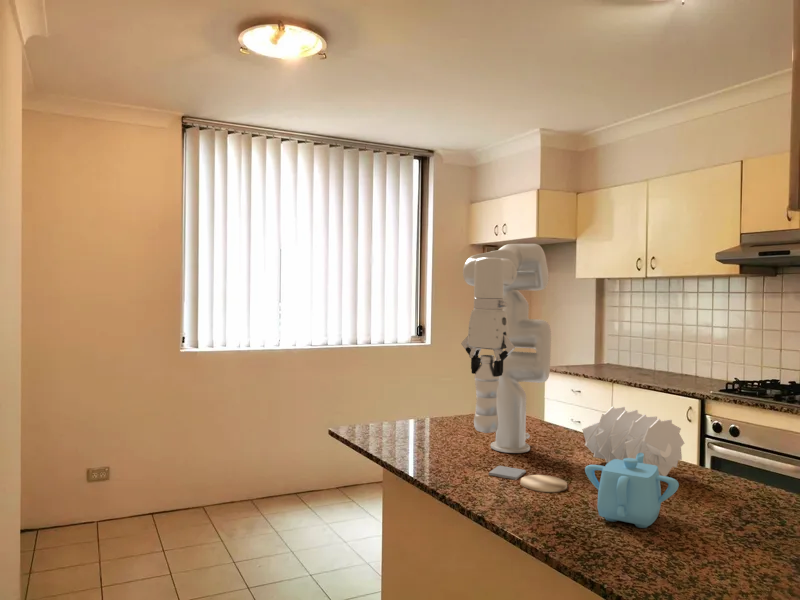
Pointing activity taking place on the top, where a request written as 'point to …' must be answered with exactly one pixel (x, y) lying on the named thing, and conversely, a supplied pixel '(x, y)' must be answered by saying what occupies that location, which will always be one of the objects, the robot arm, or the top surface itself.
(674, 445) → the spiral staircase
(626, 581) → the top surface
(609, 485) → the teapot
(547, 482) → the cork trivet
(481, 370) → the silver metal bottle
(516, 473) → the slate coaster
